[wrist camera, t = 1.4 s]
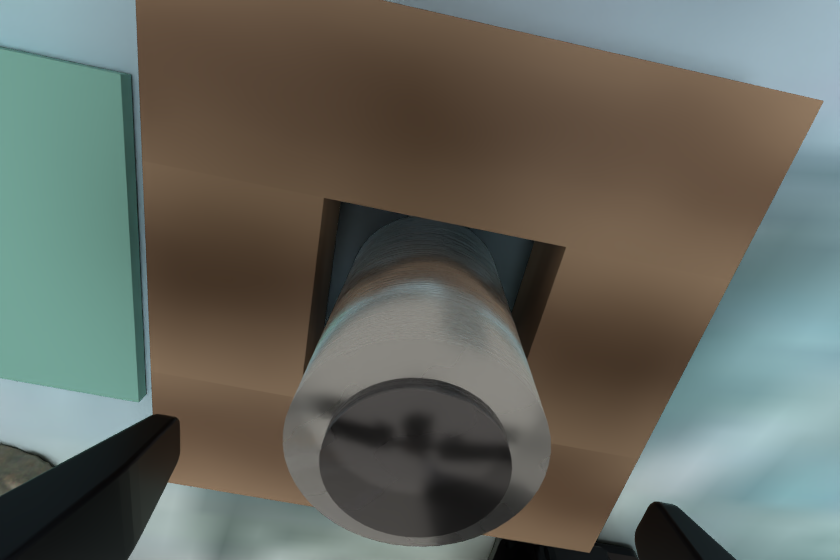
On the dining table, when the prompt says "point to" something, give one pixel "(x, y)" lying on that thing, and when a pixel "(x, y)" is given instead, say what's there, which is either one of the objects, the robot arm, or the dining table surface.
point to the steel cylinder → (419, 395)
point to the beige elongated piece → (18, 467)
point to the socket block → (437, 216)
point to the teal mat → (69, 228)
